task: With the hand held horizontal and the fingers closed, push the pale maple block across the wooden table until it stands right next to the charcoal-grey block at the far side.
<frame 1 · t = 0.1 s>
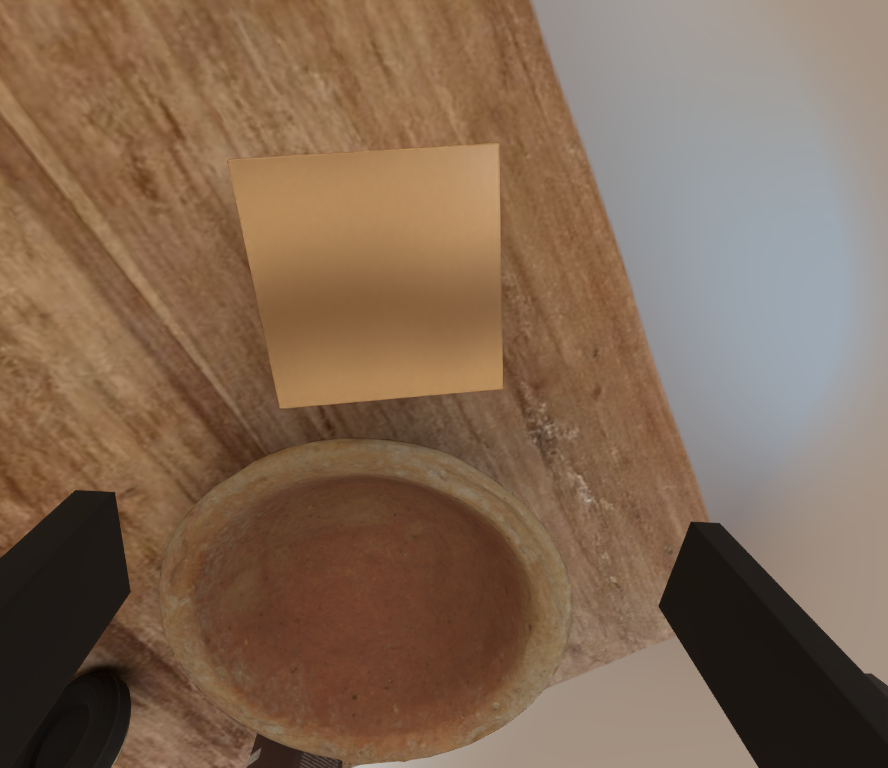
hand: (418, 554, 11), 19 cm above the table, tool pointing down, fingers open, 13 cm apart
headphones: (73, 655, 36), on the table
bowl: (376, 541, 34), on the table
box: (309, 684, 39), on the table
push block: (388, 255, 26), on the table
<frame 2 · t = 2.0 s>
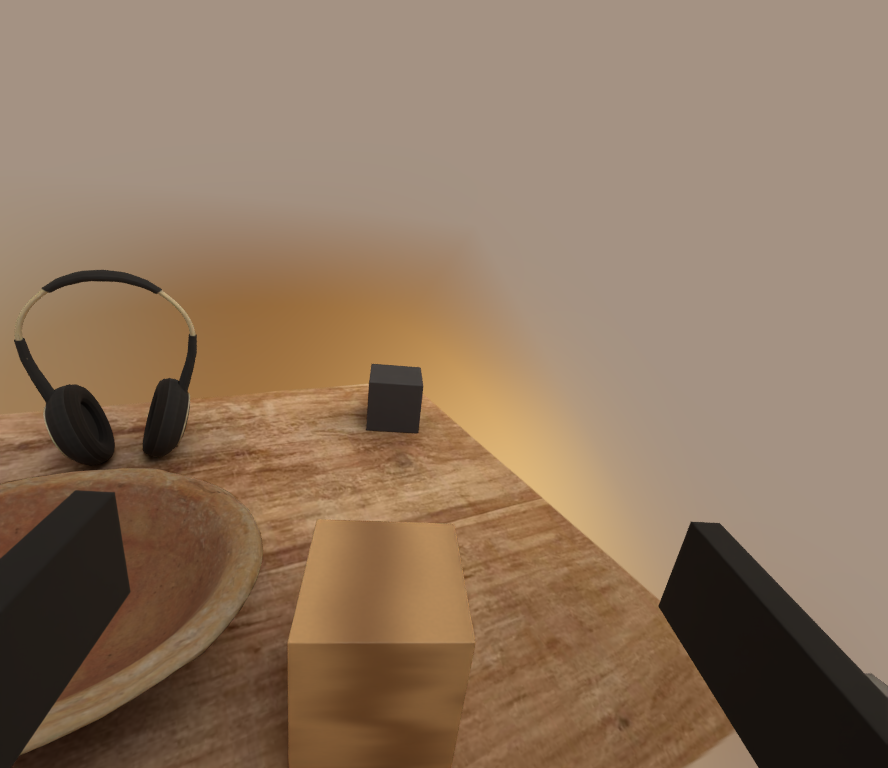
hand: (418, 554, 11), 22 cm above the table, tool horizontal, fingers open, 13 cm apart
headphones: (130, 456, 51), on the table
bowl: (68, 653, 31), on the table
push block: (374, 692, 30), on the table
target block: (392, 420, 67), on the table
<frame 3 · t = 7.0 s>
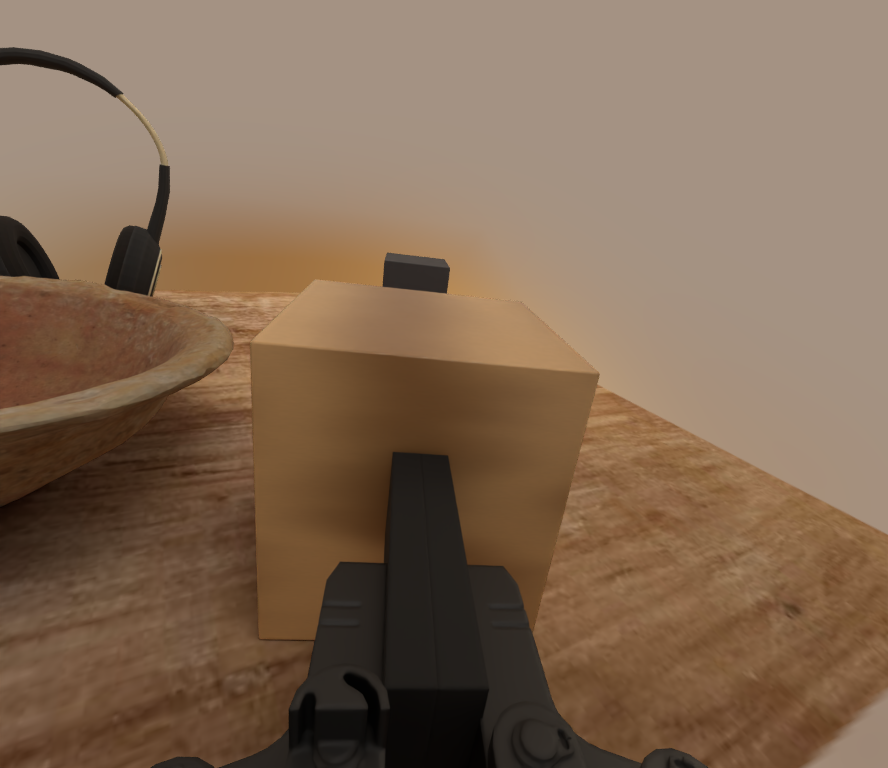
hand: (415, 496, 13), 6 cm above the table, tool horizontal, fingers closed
headphones: (85, 324, 41), on the table
push block: (399, 548, 20), on the table
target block: (410, 319, 56), on the table
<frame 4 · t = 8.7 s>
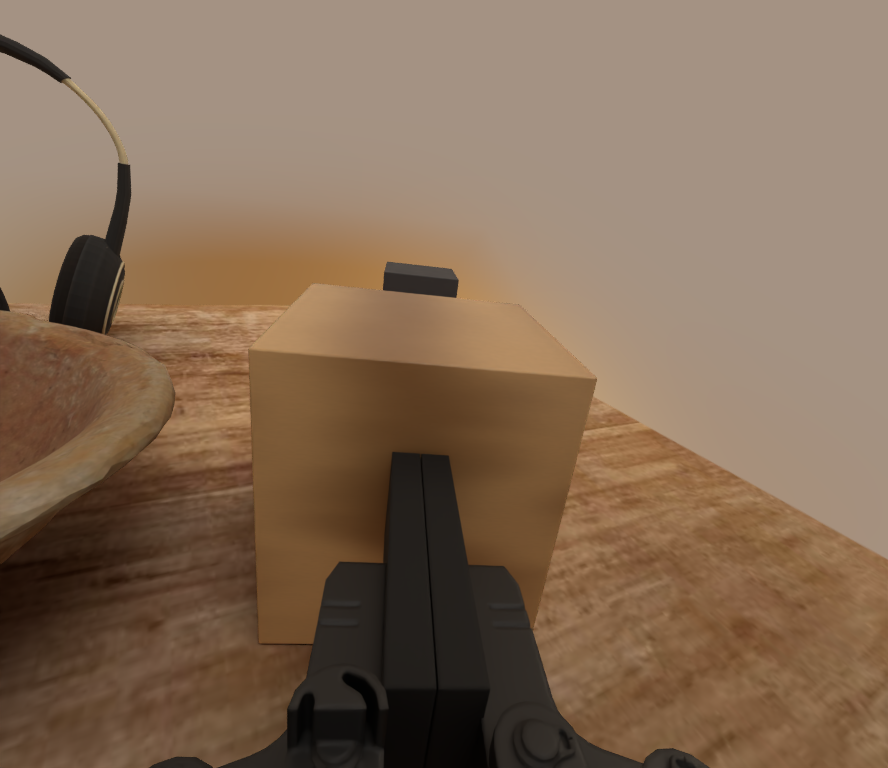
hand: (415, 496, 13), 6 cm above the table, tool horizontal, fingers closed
headphones: (34, 350, 35), on the table
push block: (398, 550, 20), on the table, touching gripper
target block: (414, 337, 50), on the table
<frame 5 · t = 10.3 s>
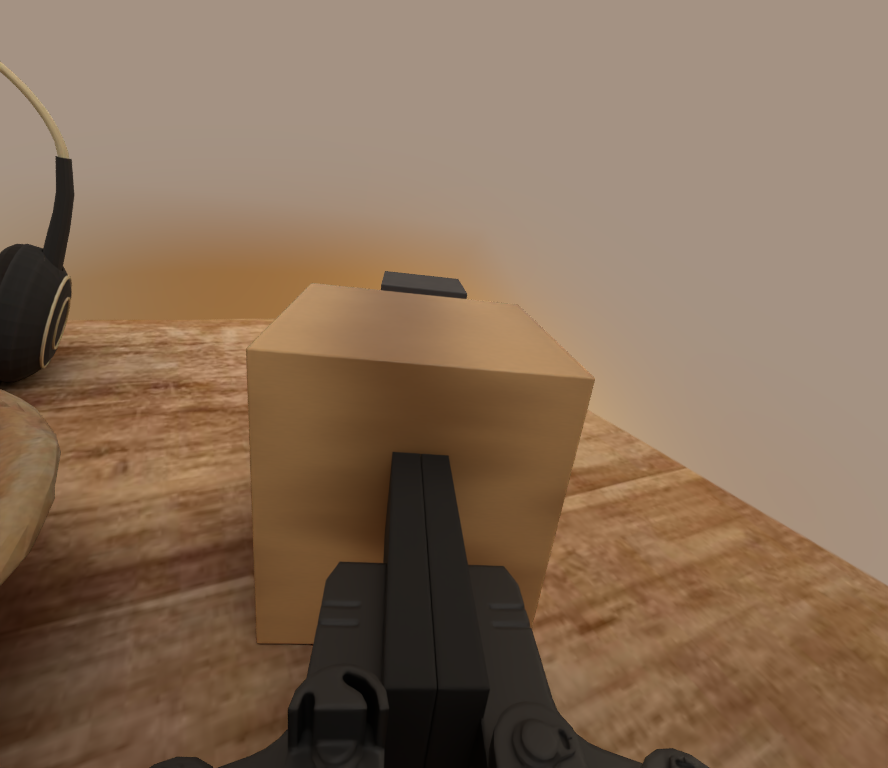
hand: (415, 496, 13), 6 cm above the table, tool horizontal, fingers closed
push block: (397, 550, 20), on the table
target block: (415, 356, 44), on the table
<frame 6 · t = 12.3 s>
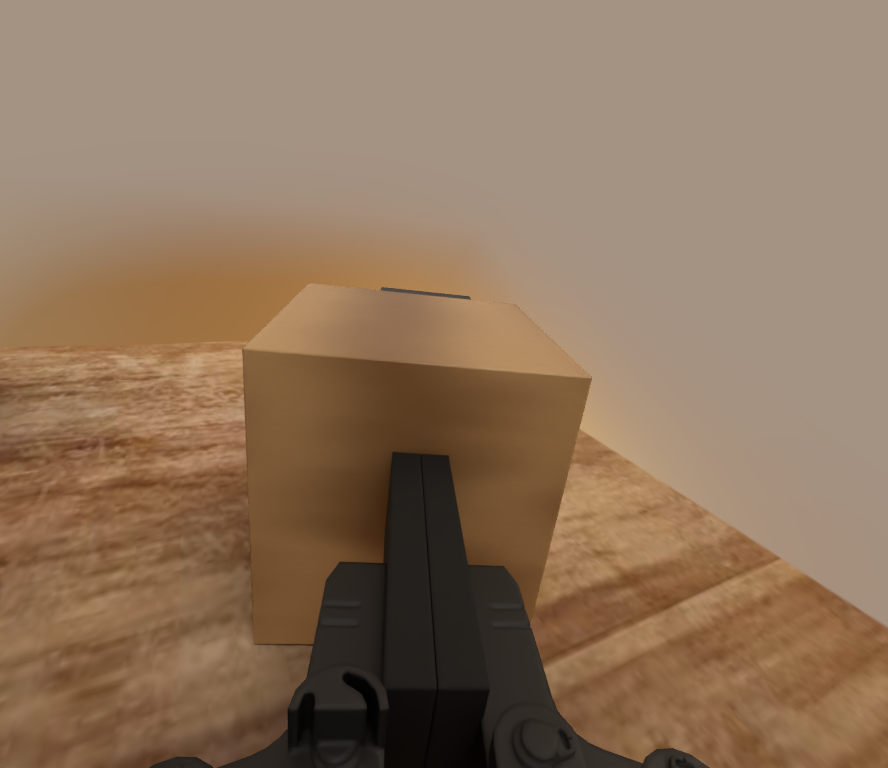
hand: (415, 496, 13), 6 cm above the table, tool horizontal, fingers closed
push block: (395, 551, 20), on the table, touching gripper
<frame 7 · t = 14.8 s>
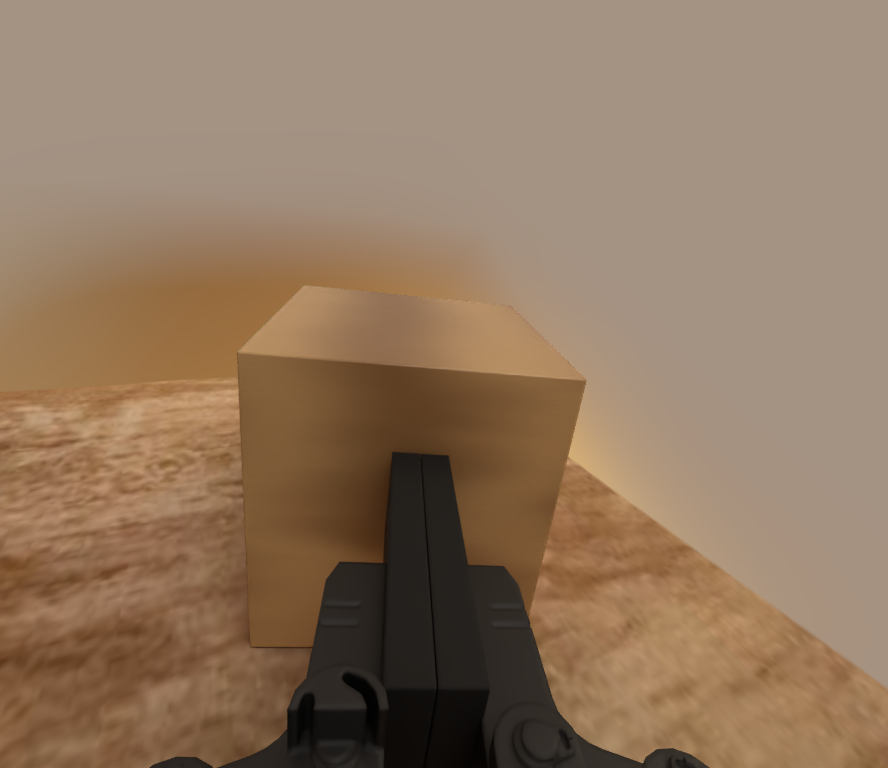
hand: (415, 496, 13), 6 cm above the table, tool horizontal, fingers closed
push block: (391, 552, 20), on the table, touching gripper
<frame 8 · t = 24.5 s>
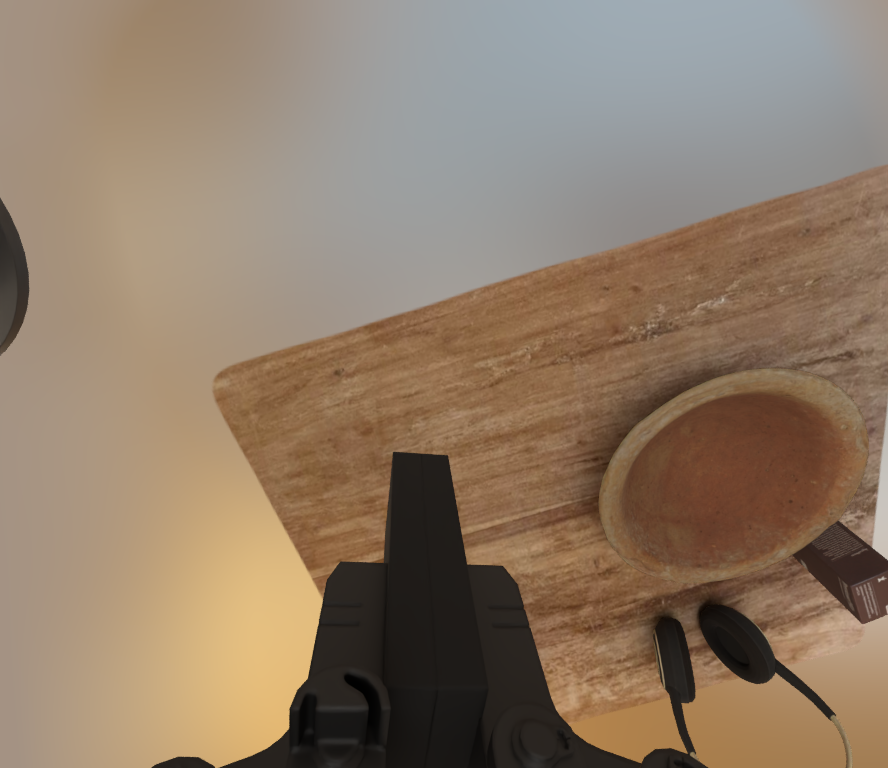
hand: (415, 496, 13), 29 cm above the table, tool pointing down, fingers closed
headphones: (684, 618, 59), on the table
bowl: (686, 448, 49), on the table
box: (780, 511, 53), on the table
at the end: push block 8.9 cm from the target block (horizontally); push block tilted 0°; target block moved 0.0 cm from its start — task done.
